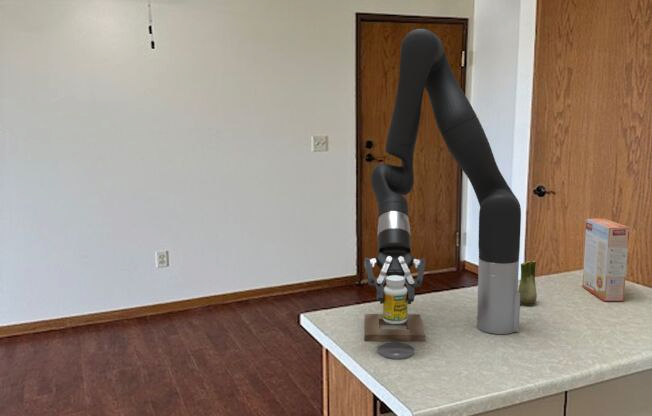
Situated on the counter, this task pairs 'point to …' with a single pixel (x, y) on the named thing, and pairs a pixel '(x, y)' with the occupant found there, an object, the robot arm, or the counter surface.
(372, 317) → the pocket board
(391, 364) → the counter surface
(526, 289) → the fennel bulb
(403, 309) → the supplement bottle
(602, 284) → the cracker box
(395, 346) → the coaster
